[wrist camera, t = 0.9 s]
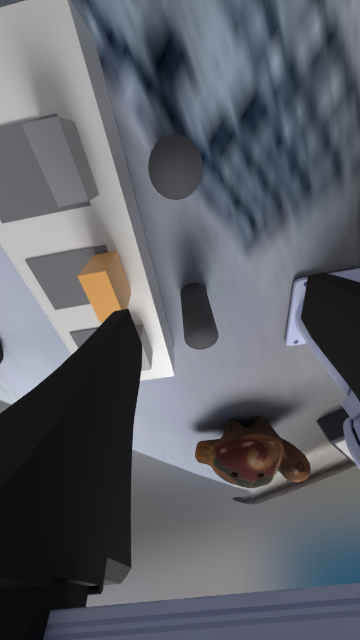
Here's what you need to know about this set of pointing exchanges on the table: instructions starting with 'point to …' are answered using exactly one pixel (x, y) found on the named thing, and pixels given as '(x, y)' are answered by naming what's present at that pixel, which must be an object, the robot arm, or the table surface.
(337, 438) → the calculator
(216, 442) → the decorative turtle
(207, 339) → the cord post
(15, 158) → the breaker panel
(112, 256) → the block
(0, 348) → the beverage can
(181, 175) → the disc
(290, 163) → the table surface
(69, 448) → the robot arm
